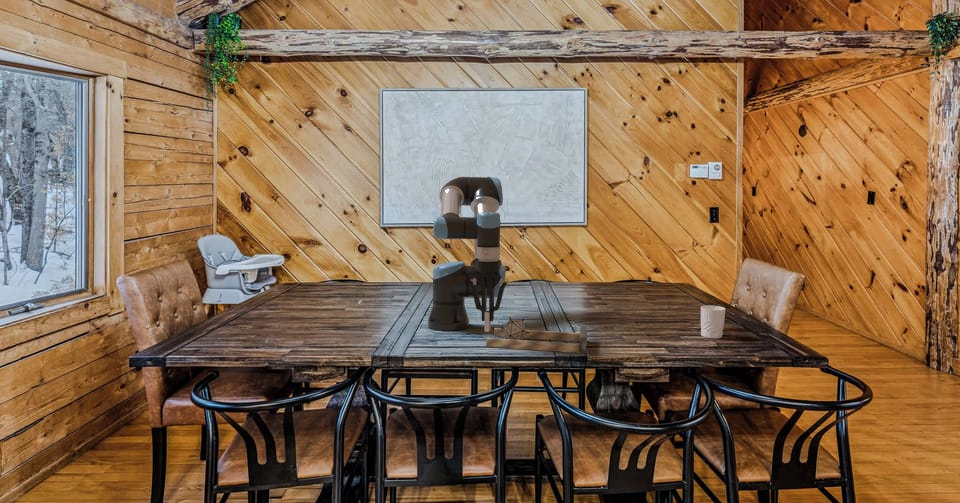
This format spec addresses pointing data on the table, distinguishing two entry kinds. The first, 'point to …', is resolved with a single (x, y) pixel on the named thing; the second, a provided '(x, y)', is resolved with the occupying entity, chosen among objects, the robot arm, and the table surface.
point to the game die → (515, 329)
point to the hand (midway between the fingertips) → (487, 330)
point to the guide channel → (541, 344)
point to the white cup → (712, 321)
